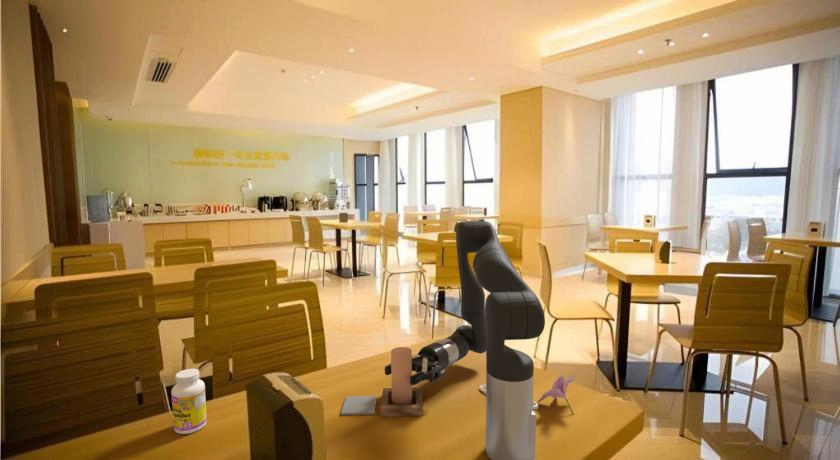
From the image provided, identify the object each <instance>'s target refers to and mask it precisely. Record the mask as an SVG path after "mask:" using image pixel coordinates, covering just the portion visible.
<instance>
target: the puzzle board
mask: <svg viewBox="0 0 840 460" xmlns="http://www.w3.org/2000/svg"><path fill="white" fill-rule="evenodd" d="M422 393H423V392H422V387H412V399H415V404H412V405H392V404H389V399H392V387H388V388H387V387H385V388H382V393H381V400H380V401H381V402H380V411H379V412H380V414H379V415H380V417H382V418H384V417H385V418H386V417H387V418H388V417H422V416H424V415H423V414H424V410H423V409H424V407H423V394H422Z"/></svg>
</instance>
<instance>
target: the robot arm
mask: <svg viewBox="0 0 840 460" xmlns="http://www.w3.org/2000/svg"><path fill="white" fill-rule="evenodd" d="M455 242H456V243H455V244H456V246H455V247H456V254H457V255H456V256H457V266H458V274H459V282H460V315H461V319H462V320H464V321H465V322H466V323H468V324H469V325H468V324H464V325H460V326H458V327H457V328H456V329H455V330H454V332H452V334H451V335H450V336H447V337H445V338H441V339H438V340H437V341H434V342H432V343H429V344H428V345H426V346H423V347H422V348H421V349H420V350H419V351H418V352H417V354H415V355H412V372H415V373H413V374H412V376H410V385H412V387H413V386H416V385H418V384H420V383H421V382H427V381H429V383H433V384H434V383H435V382H436V381H438V380H439V379H441V378H443V377H444V376H445V375H446V369H447V368H449V367H452V366H453V364H455V363H457V362H458V361H460V360H461V359H464V358H465V357H466V356H467V355H468V353H469V351H470V352H473V353H476V354H480V355H481V354H484V353H485V355H486V356H485V357H486V359H485V360H486V364H485V366H486V369H485V370H486V371H485V374H486V375H485V376H486V377H485V379H486V382H485V384H486V389H485V390H486V394H485V400H486V401H485V402H486V403H485V453H486V455H487V457H488V458H489V459H490V460H536V440H537V439H536V436H537V434H536V433H537V430H536V427H537V415H536V413H535V411H534V408H533V406H534V405H533V401H534V369H535V368H534V367H535V366H534V361H533V359H532V357H531V356H530V355H528V354H527V353H525V352H523V351H522V350H518V349H515V348H512V347H510V346H507V345H506V344H505V342H506V341H517V340H518V341H523V340H531V339H535V338H538V337H540V336H541V335H542V334H543V332H544V330H545V326H546V325H545V324H546V316H545V311H544V309H543V307H542V303H541V302H540V299H539V297H538V296H537V295H536V293H535V292H534V290H532V288H531V287H530V286H529V285H528V284H527V283H526V282H525V281H524V280H523V279H524V278H522V276H521V275H520V274H519V273H518V271H517V270H516V268H515V265H514V263H513V262H512V260H511V258H510V257H509V255H508V253H506V251H505V249H504V247H503V246H502V243H500V239H499V237H498V234H497V232H496V229H495V227H494V225H493V224H492V223H491V222H489V221H486V220H469V221H468V220H467V221H466V220H464V221H463V220H462V221H460V222H459V223H458V224H457V225H456V230H455ZM469 254H475V255H474V257H473V260H472V266H471V264H470V261H469ZM485 290H486V292H488V295H487V297H485ZM384 374H385V376H390V375H391V363H389V364H387V365H385V366H384Z"/></svg>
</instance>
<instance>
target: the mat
mask: <svg viewBox="0 0 840 460" xmlns="http://www.w3.org/2000/svg"><path fill="white" fill-rule="evenodd" d="M377 401H378V395H360V396H359V395H357V396H355V395H354V396H351V395H350V396H347V395H346V396H345V398H344V401H343V405H342V407H341V411H340V416H364V415H365V416H369V415H375V414H376V409H377Z"/></svg>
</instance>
